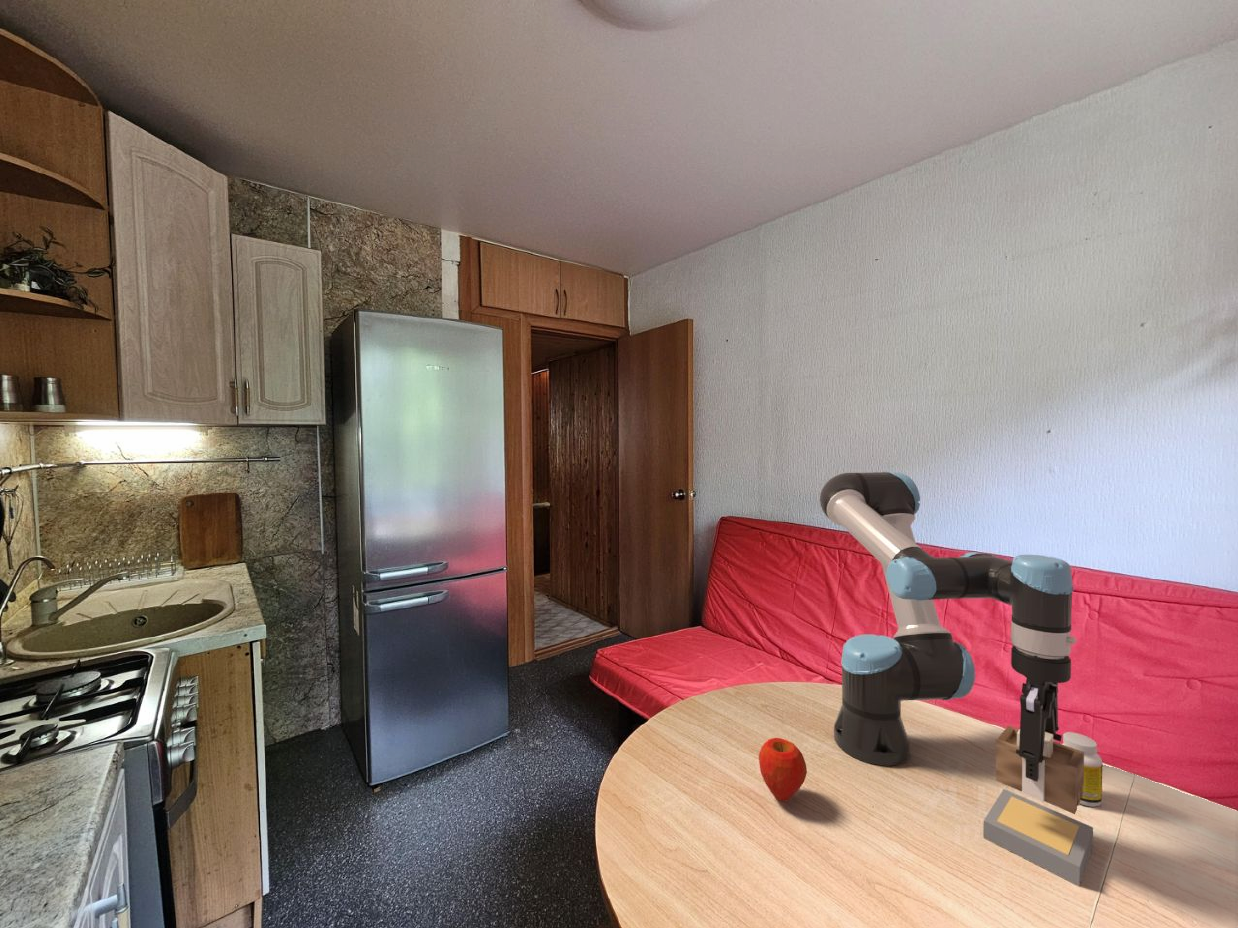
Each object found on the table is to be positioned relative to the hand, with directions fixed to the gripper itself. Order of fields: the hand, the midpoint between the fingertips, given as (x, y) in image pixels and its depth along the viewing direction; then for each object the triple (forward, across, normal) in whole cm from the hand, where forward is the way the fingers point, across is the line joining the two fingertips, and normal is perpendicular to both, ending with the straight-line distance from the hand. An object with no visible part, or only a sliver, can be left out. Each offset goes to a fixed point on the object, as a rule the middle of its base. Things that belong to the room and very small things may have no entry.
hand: (1038, 785), depth 82 cm
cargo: (-6, 0, 0) cm, 6 cm away
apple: (+10, -24, +33) cm, 42 cm away
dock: (+10, 0, 0) cm, 10 cm away
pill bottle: (+10, +20, -2) cm, 22 cm away
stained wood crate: (0, 0, 0) cm, 0 cm away
